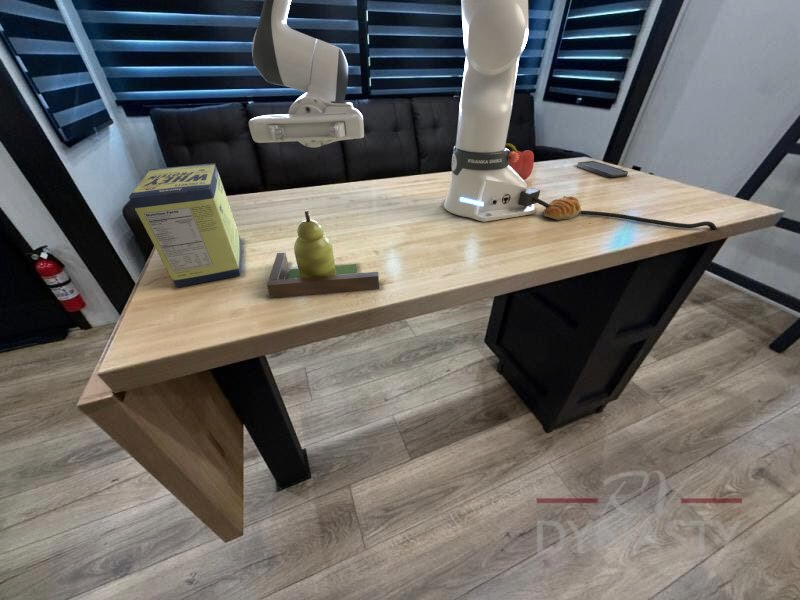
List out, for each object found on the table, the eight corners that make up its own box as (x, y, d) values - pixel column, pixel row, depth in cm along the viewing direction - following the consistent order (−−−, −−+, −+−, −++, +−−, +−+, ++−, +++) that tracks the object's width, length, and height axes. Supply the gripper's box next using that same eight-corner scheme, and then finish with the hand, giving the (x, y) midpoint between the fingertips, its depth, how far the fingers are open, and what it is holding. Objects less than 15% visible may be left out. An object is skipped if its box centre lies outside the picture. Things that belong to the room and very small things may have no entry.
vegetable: (487, 179, 100) (493, 145, 94) (506, 173, 106) (512, 140, 100) (518, 188, 94) (526, 151, 88) (536, 180, 99) (545, 145, 93)
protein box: (241, 239, 68) (215, 161, 58) (242, 276, 56) (210, 187, 47) (186, 248, 64) (149, 167, 55) (175, 289, 53) (126, 196, 44)
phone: (610, 174, 100) (576, 162, 112) (609, 178, 101) (575, 165, 113) (630, 172, 102) (594, 160, 114) (628, 175, 103) (593, 163, 114)
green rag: (356, 264, 59) (356, 264, 59) (357, 284, 54) (357, 284, 54) (289, 270, 58) (289, 269, 58) (284, 291, 53) (284, 290, 53)
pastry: (561, 224, 73) (566, 208, 71) (535, 215, 78) (539, 200, 75) (581, 214, 78) (586, 199, 76) (555, 206, 82) (560, 192, 80)
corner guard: (373, 257, 61) (373, 246, 60) (379, 288, 53) (378, 276, 52) (280, 264, 59) (276, 252, 58) (270, 298, 51) (266, 285, 50)
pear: (336, 265, 59) (327, 202, 52) (336, 284, 54) (326, 217, 47) (302, 268, 58) (288, 204, 51) (298, 287, 53) (282, 220, 46)
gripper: (253, 105, 61) (234, 115, 50) (359, 102, 63) (364, 111, 53) (262, 141, 65) (246, 158, 54) (362, 137, 67) (367, 152, 56)
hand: (305, 135), depth 53 cm, fingers open, 8 cm apart
